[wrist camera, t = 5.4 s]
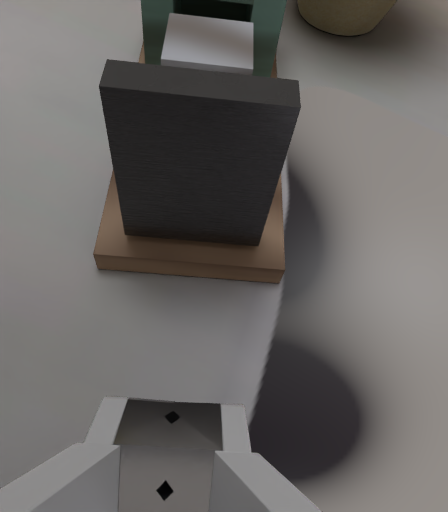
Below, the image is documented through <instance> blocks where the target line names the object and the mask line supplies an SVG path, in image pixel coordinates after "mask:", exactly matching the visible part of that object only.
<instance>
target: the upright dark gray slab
mask: <svg viewBox="0 0 448 512" xmlns="http://www.w3.org/2000/svg"><path fill="white" fill-rule="evenodd" d="M99 89H100V95H101V101H102V106H103V112H104V118H105V124H106V129H107V135H108V141H109V147H110V152H111V158H112V164H113V170H114V175H115V181H116V187H117V193H118V198H119V204H120V210H121V216H122V221H123V227H124V233H125V235H130V236H142V237H153V238H165V239H177V240H188V241H200V242H212V243H223V244H235V245H246V246H259V243H260V240H261V237H262V233H263V230H264V227H265V223H266V220H267V217H268V214H269V210H270V207H271V204H272V200H273V197H274V194H275V191H276V187H277V184H278V181H279V177H280V174H281V171H282V168H283V164H284V161H285V158H286V154H287V151H288V148H289V144H290V141H291V138H292V135H293V131H294V128H295V125H296V122H297V118H298V115H299V111H300V108H301V105H300V93H299V81H298V80H289V79H280V78H271V77H262V76H253V75H244V74H235V73H226V72H217V71H208V70H199V69H190V68H181V67H172V66H163V65H154V64H144V63H135V62H126V61H117V60H108V59H107V61H106V64H105V68H104V71H103V74H102V78H101V81H100V84H99Z"/></svg>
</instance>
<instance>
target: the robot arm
mask: <svg viewBox="0 0 448 512" xmlns="http://www.w3.org/2000/svg"><path fill="white" fill-rule="evenodd" d="M0 512H322V511H321V510H320V509H319V508H317V506H316V505H315V504H313V503H312V502H311V501H310V500H309V499H308V498H307V497H306V496H305V495H304V494H302V493H301V492H300V491H299V490H298V489H297V488H296V487H295V486H293V484H291V483H290V482H289V481H288V480H287V479H286V478H285V477H284V476H283V475H282V474H280V473H279V472H278V471H277V470H276V469H275V468H274V467H273V466H272V465H270V464H269V463H268V462H267V461H266V460H265V459H264V458H263V457H262V456H261V455H260V454H258V453H251V447H250V440H249V433H248V426H247V419H246V413H245V406H244V405H243V404H214V403H188V402H175V401H164V400H153V399H141V398H128V397H115V396H105V397H104V398H103V399H102V401H101V403H100V405H99V408H98V410H97V412H96V414H95V417H94V419H93V421H92V424H91V426H90V428H89V430H88V433H87V435H86V437H85V439H84V442H83V443H75V444H73V445H71V446H70V447H68V448H66V449H65V450H63V451H61V452H60V453H58V454H56V455H55V456H53V457H52V458H50V459H48V460H47V461H45V462H43V463H42V464H40V465H38V466H37V467H35V468H34V469H32V470H30V471H29V472H27V473H25V474H24V475H22V476H20V477H19V478H17V479H15V480H14V481H12V482H11V483H9V484H7V485H6V486H4V487H2V488H1V489H0Z"/></svg>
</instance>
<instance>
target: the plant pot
mask: <svg viewBox="0 0 448 512" xmlns="http://www.w3.org/2000/svg"><path fill="white" fill-rule="evenodd" d="M396 2H397V0H298V8H299V12H300V14H301V15H302V17H303V18H304V19H305V20H306V21H307V22H308V23H310V24H311V25H313V26H314V27H316V28H318V29H320V30H323V31H325V32H328V33H332V34H337V35H345V36H353V35H361V34H364V33H367V32H369V31H371V30H372V29H373V28H375V26H376V25H377V24H378V23H379V22H380V21H381V19H382V18H383V17H384V16H385V15H386V14H387V12H388V11H389V10H390V9H391V8H392V6H393V5H394V4H395V3H396Z"/></svg>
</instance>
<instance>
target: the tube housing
mask: <svg viewBox="0 0 448 512" xmlns="http://www.w3.org/2000/svg"><path fill="white" fill-rule="evenodd" d="M286 2H287V0H141V9H142V24H143V40H144V41H143V45H142V49H141V53H140V58H139V62H138V63H144V64H154V65H163V66H172V67H181V68H190V69H199V70H208V71H217V72H226V73H235V74H244V75H253V76H262V77H271V78H277V71H276V48H277V44H278V39H279V34H280V30H281V25H282V20H283V16H284V11H285V7H286ZM93 255H94V258H95V261H96V265H97V268H98V269H109V270H121V271H133V272H146V273H158V274H171V275H183V276H196V277H208V278H220V279H233V280H245V281H258V282H270V283H280V280H281V278H282V276H283V274H284V271H285V256H284V233H283V210H282V187H281V174H280V177H279V181H278V184H277V187H276V191H275V194H274V197H273V200H272V204H271V207H270V210H269V214H268V217H267V220H266V223H265V227H264V230H263V233H262V237H261V240H260V243H259V246H246V245H235V244H223V243H212V242H200V241H188V240H177V239H165V238H153V237H142V236H130V235H125V233H124V227H123V221H122V216H121V210H120V204H119V198H118V193H117V187H116V181H115V175H114V170H113V172H112V177H111V181H110V185H109V189H108V194H107V198H106V202H105V206H104V210H103V215H102V219H101V223H100V227H99V232H98V236H97V240H96V244H95V249H94V253H93Z"/></svg>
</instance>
